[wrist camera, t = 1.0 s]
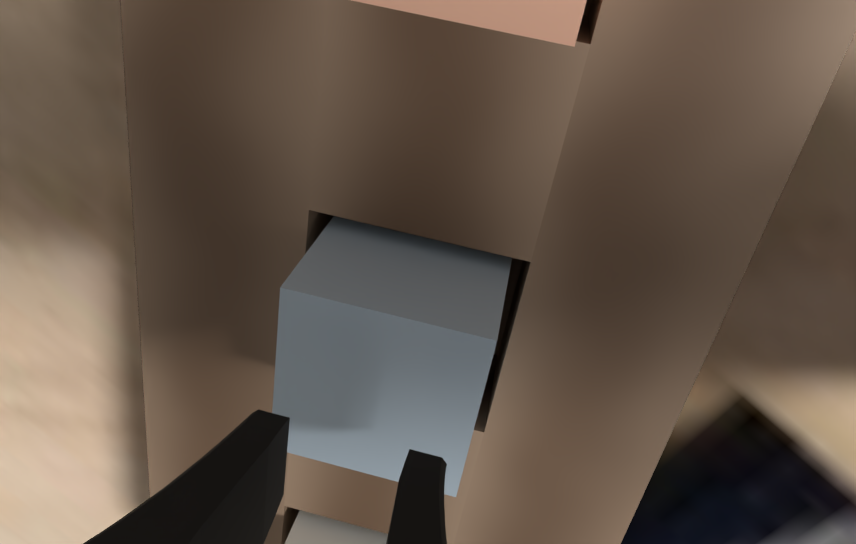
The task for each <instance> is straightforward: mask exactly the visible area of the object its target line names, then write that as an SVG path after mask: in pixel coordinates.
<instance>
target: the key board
mask: <svg viewBox="0 0 856 544" xmlns="http://www.w3.org/2000/svg"><path fill="white" fill-rule="evenodd" d="M120 6H121V23H122V40H123V57H124V73H125V90H126V107H127V123H128V140H129V157H130V174H131V190H132V207H133V224H134V240H135V257H136V274H137V291H138V307H139V324H140V341H141V358H142V374H143V391H144V408H145V424H146V441H147V458H148V475H149V491H150V498H151V497H152V496H153V495H155V494H156V493H157V492H159V491H160V490H161V489H163V488H164V487H165V486H167V485H168V484H169V483H171V482H172V481H173V480H174V479H176V478H177V477H178V476H179V475H181V474H182V473H183V472H184V471H186V470H187V469H188V468H189V467H191V466H192V465H193V464H194V463H196V462H197V461H198V460H199V459H200V458H202V457H203V456H204V455H205V454H206V453H208V452H209V451H210V450H211V449H212V448H213V447H215V446H216V445H217V444H218V443H219V442H220V441H222V440H223V439H224V438H225V437H226V436H227V435H228V434H230V433H231V432H232V431H233V430H234V429H235V428H236V427H237V426H238V425H240V424H241V423H242V422H243V421H244V420H245V419H246V418H247V417H248V416H249V415H250V414H252V413H253V412H255V411H257V410H258V409H259V410H263V411H266V412H270V413H272V408H273V393H274V377H275V361H276V346H277V330H278V314H279V298H280V287H281V286H282V284H283V283H284V282H285V280H286V279H287V278H288V276H289V275H290V274H291V272H292V271H293V270H294V268H295V267H296V266H297V264H298V263H299V262H300V260H301V259H302V258H303V256H304V255H305V254H306V252H307V251H308V250H309V248H310V247H311V246H312V244H313V243H314V242H315V240H316V239H317V238H318V236H319V235H320V234H321V232H322V231H323V230H324V228H325V227H326V226H327V224H328V223H329V222H330V220H331V219H332V218H333V217H334V216H336V217H340V218H344V219H348V220H353V221H357V222H361V223H365V224H370V225H374V226H378V227H382V228H387V229H391V230H395V231H399V232H404V233H408V234H412V235H416V236H421V237H425V238H429V239H433V240H438V241H442V242H446V243H450V244H455V245H459V246H463V247H467V248H472V249H476V250H480V251H484V252H489V253H493V254H497V255H501V256H506V257H510V258H512V262H511V267H510V273H509V278H508V284H507V289H506V295H505V300H504V306H503V311H502V317H501V322H500V328H499V334H498V339H497V343H496V347H495V351H494V355H493V359H492V362H491V366H490V370H489V374H488V378H487V381H486V385H485V389H484V393H483V397H482V400H481V404H480V408H479V412H478V416H477V419H476V423H475V427H474V431H473V435H472V438H471V442H470V446H469V450H468V454H467V457H466V461H465V465H464V469H463V473H462V476H461V480H460V484H459V488H458V492H457V495H456V497H453V496H449V495H445V494H444V508H445V527H446V539H447V544H621V542H622V539H623V537H624V535H625V533H626V531H627V528H628V526H629V524H630V522H631V520H632V518H633V515H634V513H635V511H636V509H637V507H638V505H639V502H640V500H641V498H642V496H643V494H644V491H645V489H646V487H647V485H648V483H649V481H650V478H651V476H652V474H653V472H654V470H655V468H656V465H657V463H658V461H659V459H660V457H661V454H662V452H663V450H664V448H665V446H666V444H667V441H668V439H669V437H670V435H671V433H672V431H673V428H674V426H675V424H676V422H677V420H678V417H679V415H680V413H681V411H682V409H683V407H684V404H685V402H686V400H687V398H688V396H689V394H690V391H691V389H692V387H693V385H694V383H695V380H696V378H697V376H698V374H699V372H700V370H701V367H702V365H703V363H704V361H705V359H706V357H707V354H708V352H709V350H710V348H711V346H712V343H713V341H714V339H715V337H716V335H717V333H718V330H719V328H720V326H721V324H722V322H723V320H724V317H725V315H726V313H727V311H728V309H729V306H730V304H731V302H732V300H733V298H734V296H735V293H736V291H737V289H738V287H739V285H740V283H741V280H742V278H743V276H744V274H745V272H746V269H747V267H748V265H749V263H750V261H751V259H752V256H753V254H754V252H755V250H756V248H757V245H758V243H759V241H760V239H761V237H762V235H763V232H764V230H765V228H766V226H767V224H768V222H769V219H770V217H771V215H772V213H773V211H774V208H775V206H776V204H777V202H778V200H779V198H780V195H781V193H782V191H783V189H784V187H785V185H786V182H787V180H788V178H789V176H790V174H791V171H792V169H793V167H794V165H795V163H796V161H797V158H798V156H799V154H800V152H801V150H802V148H803V145H804V143H805V141H806V139H807V137H808V134H809V132H810V130H811V128H812V126H813V124H814V121H815V119H816V117H817V115H818V113H819V111H820V108H821V106H822V104H823V102H824V100H825V97H826V95H827V93H828V91H829V89H830V87H831V84H832V82H833V80H834V78H835V76H836V74H837V71H838V69H839V67H840V65H841V63H842V60H843V58H844V56H845V54H846V52H847V50H848V47H849V45H850V43H851V41H852V39H853V37H854V34H855V32H856V0H587V2H586V5H585V9H584V13H583V17H582V21H581V24H580V28H579V32H578V36H577V40H576V43H575V47H573V46H568V45H563V44H558V43H554V42H549V41H544V40H539V39H534V38H529V37H525V36H520V35H515V34H510V33H505V32H501V31H496V30H491V29H486V28H481V27H477V26H472V25H467V24H462V23H457V22H453V21H448V20H443V19H438V18H433V17H428V16H424V15H419V14H414V13H409V12H404V11H400V10H395V9H390V8H385V7H380V6H376V5H371V4H366V3H361V2H356V1H351V0H120ZM397 487H398V482H397V481H393V480H389V479H385V478H382V477H378V476H374V475H370V474H367V473H363V472H359V471H355V470H351V469H348V468H344V467H340V466H336V465H333V464H329V463H325V462H321V461H318V460H314V459H310V458H306V457H303V456H299V455H295V454H291V453H288V452H287V459H286V471H285V484H284V495H283V497H282V500H281V502H280V505H279V507H278V510H277V513H276V515H275V518H274V520H273V523H272V525H271V527H270V530H269V532H268V535H267V537H266V539H265V542H264V544H285V542H286V539H287V537H288V535H289V533H290V531H291V528H292V526H293V524H294V522H295V519H296V517H297V515H298V513H299V511H300V510H302V511H305V512H309V513H313V514H316V515H320V516H324V517H327V518H331V519H335V520H338V521H342V522H346V523H349V524H353V525H357V526H360V527H364V528H368V529H371V530H375V531H379V532H382V533H386V534H388V532H389V527H390V522H391V517H392V512H393V507H394V502H395V497H396V492H397Z"/></svg>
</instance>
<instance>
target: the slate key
mask: <svg viewBox="0 0 856 544" xmlns="http://www.w3.org/2000/svg"><path fill="white" fill-rule="evenodd" d="M511 262H512V258H510V257H506V256H501V255H497V254H493V253H489V252H484V251H480V250H476V249H472V248H467V247H463V246H459V245H455V244H450V243H446V242H442V241H438V240H433V239H429V238H425V237H421V236H416V235H412V234H408V233H404V232H399V231H395V230H391V229H387V228H382V227H378V226H374V225H370V224H365V223H361V222H357V221H353V220H348V219H344V218H340V217H336V216H334V217H333V218H332V219H331V220H330V222H329V223H328V224H327V226H326V227H325V228H324V230H323V231H322V232H321V234H320V235H319V236H318V238H317V239H316V240H315V242H314V243H313V244H312V246H311V247H310V248H309V250H308V251H307V252H306V254H305V255H304V256H303V258H302V259H301V260H300V262H299V263H298V264H297V266H296V267H295V268H294V270H293V271H292V272H291V274H290V275H289V276H288V278H287V279H286V280H285V282H284V283H283V284H282V286H281V287H280V298H279V314H278V330H277V346H276V361H275V377H274V393H273V408H272V413H274V414H278V415H282V416H286V417H289V418H290V422H289V434H288V447H287V452H288V453H291V454H295V455H299V456H303V457H306V458H310V459H314V460H318V461H321V462H325V463H329V464H333V465H336V466H340V467H344V468H348V469H351V470H355V471H359V472H363V473H367V474H370V475H374V476H378V477H382V478H385V479H389V480H393V481H397V482H399V478H400V475H401V472H402V469H403V466H404V463H405V460H406V457H407V455H408V452H409V449H412V450H415V451H419V452H423V453H427V454H431V455H435V456H438V457H442V458H443V459H444V461H445V462H446V463H447V466H446V472H445V485H444V494H445V495H449V496H453V497H456V495H457V492H458V488H459V484H460V480H461V476H462V473H463V469H464V465H465V461H466V457H467V454H468V450H469V446H470V442H471V438H472V435H473V431H474V427H475V423H476V419H477V416H478V412H479V408H480V404H481V400H482V397H483V393H484V389H485V385H486V381H487V378H488V374H489V370H490V366H491V362H492V359H493V355H494V351H495V347H496V343H497V339H498V334H499V328H500V322H501V317H502V311H503V306H504V300H505V295H506V289H507V284H508V278H509V273H510V267H511Z"/></svg>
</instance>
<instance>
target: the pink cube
mask: <svg viewBox="0 0 856 544" xmlns="http://www.w3.org/2000/svg"><path fill="white" fill-rule="evenodd" d="M351 1H356V2H361V3H366V4H371V5H376V6H380V7H385V8H390V9H395V10H400V11H404V12H409V13H414V14H419V15H424V16H428V17H433V18H438V19H443V20H448V21H453V22H457V23H462V24H467V25H472V26H477V27H481V28H486V29H491V30H496V31H501V32H505V33H510V34H515V35H520V36H525V37H529V38H534V39H539V40H544V41H549V42H554V43H558V44H563V45H568V46H573V47H575V43H576V40H577V36H578V32H579V28H580V24H581V21H582V17H583V13H584V9H585V5H586V2H587V0H351Z"/></svg>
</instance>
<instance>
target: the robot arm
mask: <svg viewBox="0 0 856 544" xmlns="http://www.w3.org/2000/svg"><path fill="white" fill-rule="evenodd" d="M289 422H290V418H289V417H286V416H282V415H278V414H274V413H270V412H266V411H263V410H259V409H258V410H257V411H255V412H253V413H252V414H250V415H249V416H248V417H247V418H246V419H245V420H244V421H243V422H242V423H241V424H240V425H238V426H237V427H236V428H235V429H234V430H233V431H232V432H231V433H230V434H228V435H227V436H226V437H225V438H224V439H223V440H222V441H220V442H219V443H218V444H217V445H216V446H215V447H213V448H212V449H211V450H210V451H209V452H208V453H206V454H205V455H204V456H203V457H202V458H200V459H199V460H198V461H197V462H196V463H194V464H193V465H192V466H191V467H189V468H188V469H187V470H186V471H184V472H183V473H182V474H181V475H179V476H178V477H177V478H176V479H174V480H173V481H172V482H171V483H169V484H168V485H167V486H165V487H164V488H163V489H161V490H160V491H159V492H157V493H156V494H155V495H153V496H152V497H151V498H149V499H148V500H146V501H145V502H144V503H142V504H141V505H140V506H138V507H137V508H135V509H134V510H133V511H131V512H130V513H128V514H127V515H126V516H124V517H123V518H121V519H120V520H119V521H117V522H116V523H114V524H113V525H111V526H110V527H108V528H107V529H105V530H104V531H102V532H101V533H99V534H98V535H96V536H94V537H93V538H91V539H90V540H88V541H87V542H85V543H83V544H264V542H265V539H266V537H267V535H268V532H269V530H270V527H271V525H272V523H273V520H274V518H275V515H276V513H277V510H278V507H279V505H280V502H281V500H282V497H283V495H284V484H285V471H286V459H287V447H288V434H289ZM446 466H447V463H446V462H445V461H444V459H443V458H442V457H438V456H435V455H431V454H427V453H423V452H419V451H415V450H412V449H409V452H408V455H407V457H406V460H405V463H404V466H403V469H402V472H401V475H400V478H399V482H398V487H397V492H396V497H395V502H394V507H393V512H392V517H391V522H390V527H389V532H388V537H387V542H386V544H447V539H446V527H445V508H444V485H445V472H446Z"/></svg>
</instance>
